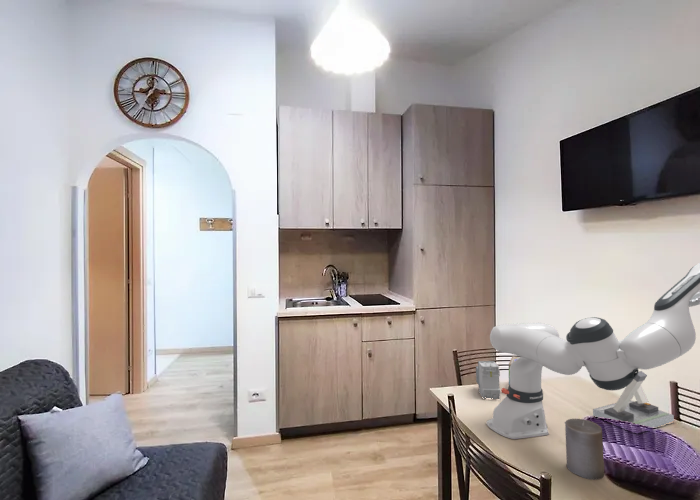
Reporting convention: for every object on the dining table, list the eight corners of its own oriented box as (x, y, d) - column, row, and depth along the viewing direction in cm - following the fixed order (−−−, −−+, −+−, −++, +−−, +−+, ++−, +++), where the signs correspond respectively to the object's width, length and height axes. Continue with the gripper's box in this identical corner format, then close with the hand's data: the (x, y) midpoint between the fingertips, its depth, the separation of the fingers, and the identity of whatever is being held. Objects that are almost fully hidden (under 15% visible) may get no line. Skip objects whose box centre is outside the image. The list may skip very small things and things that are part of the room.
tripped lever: (643, 403, 144) (621, 356, 151) (637, 403, 146) (616, 357, 153) (649, 401, 145) (627, 355, 152) (643, 402, 147) (622, 356, 154)
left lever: (618, 412, 138) (640, 376, 131) (612, 408, 140) (634, 372, 133) (624, 410, 140) (647, 375, 132) (619, 406, 142) (641, 371, 134)
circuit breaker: (491, 388, 179) (490, 357, 179) (500, 399, 165) (499, 366, 165) (475, 388, 180) (474, 357, 180) (483, 399, 166) (482, 366, 166)
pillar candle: (596, 463, 115) (594, 415, 115) (610, 482, 105) (607, 430, 106) (562, 459, 117) (560, 413, 117) (572, 478, 108) (570, 427, 108)
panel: (636, 434, 131) (636, 421, 132) (593, 416, 146) (592, 404, 146) (673, 422, 139) (673, 410, 140) (628, 406, 154) (628, 395, 154)
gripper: (698, 311, 114) (657, 314, 127) (747, 294, 118) (702, 299, 131) (689, 292, 116) (649, 297, 129) (737, 275, 119) (694, 282, 133)
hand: (676, 298), depth 130 cm, fingers closed
